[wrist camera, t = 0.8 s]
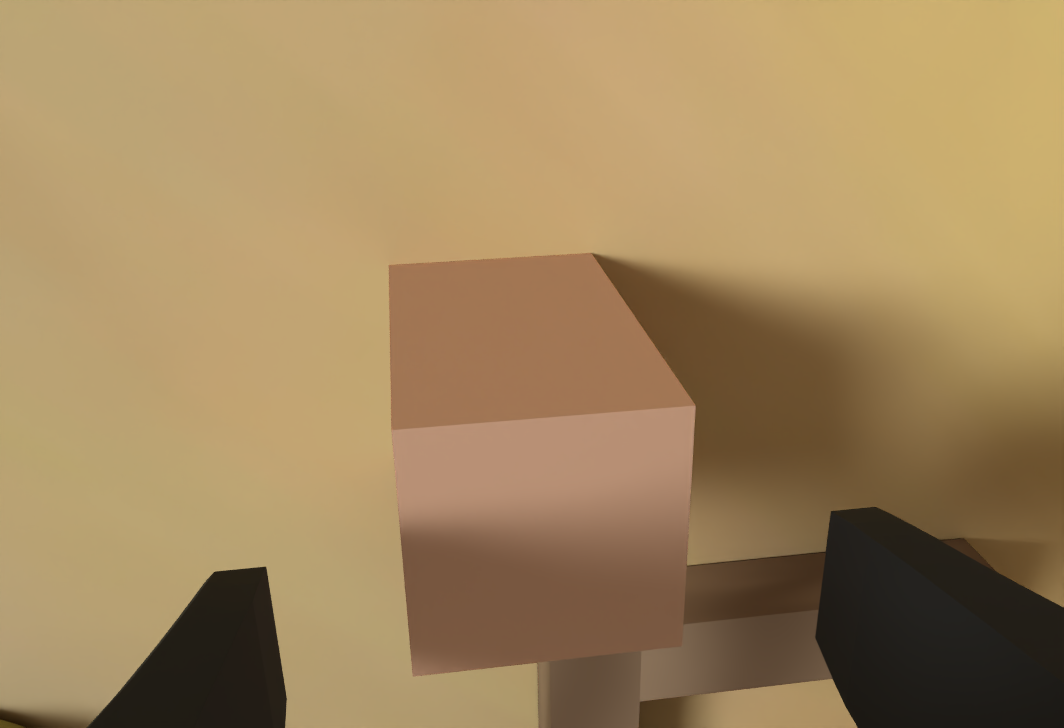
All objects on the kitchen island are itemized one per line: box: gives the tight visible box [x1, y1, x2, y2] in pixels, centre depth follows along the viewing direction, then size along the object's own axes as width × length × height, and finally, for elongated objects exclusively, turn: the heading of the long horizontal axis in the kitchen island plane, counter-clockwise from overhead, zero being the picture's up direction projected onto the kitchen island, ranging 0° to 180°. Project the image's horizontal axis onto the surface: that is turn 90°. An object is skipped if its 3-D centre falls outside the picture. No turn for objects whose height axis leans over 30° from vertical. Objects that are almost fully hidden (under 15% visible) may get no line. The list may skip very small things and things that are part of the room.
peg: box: [389, 253, 696, 676], centre depth 16 cm, size 4×4×7 cm
